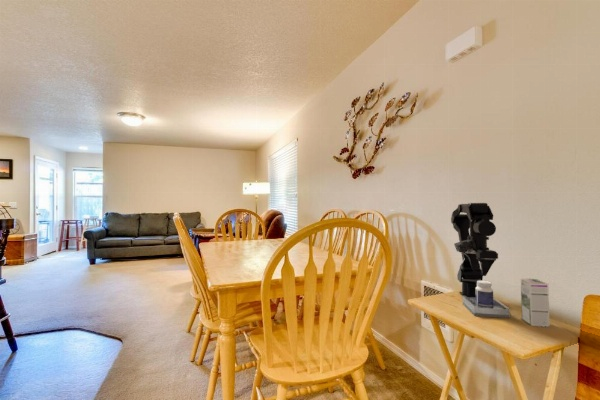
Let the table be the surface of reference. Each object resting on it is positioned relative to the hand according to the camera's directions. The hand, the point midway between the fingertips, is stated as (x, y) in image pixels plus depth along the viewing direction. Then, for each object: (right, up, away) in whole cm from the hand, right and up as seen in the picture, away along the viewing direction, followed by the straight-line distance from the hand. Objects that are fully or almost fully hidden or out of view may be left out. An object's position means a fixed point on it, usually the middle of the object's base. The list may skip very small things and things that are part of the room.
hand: (478, 273), depth 113 cm
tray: (-1, -13, -5) cm, 14 cm away
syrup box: (+9, -13, -16) cm, 23 cm away
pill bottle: (-1, -12, -5) cm, 13 cm away
